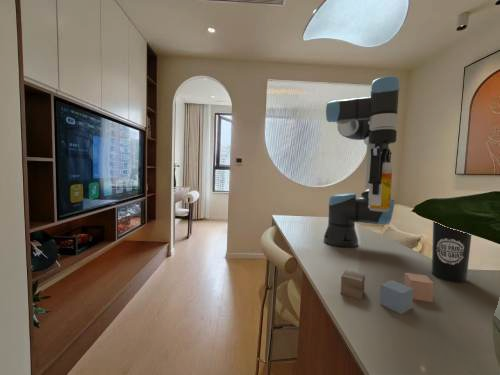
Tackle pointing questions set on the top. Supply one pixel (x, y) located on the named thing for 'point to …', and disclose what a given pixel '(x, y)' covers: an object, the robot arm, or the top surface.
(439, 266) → the water bottle
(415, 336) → the top surface
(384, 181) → the beer can
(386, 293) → the slate blue cube
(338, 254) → the top surface
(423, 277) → the terracotta cube
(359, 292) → the walnut cube
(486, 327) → the top surface
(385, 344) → the top surface
